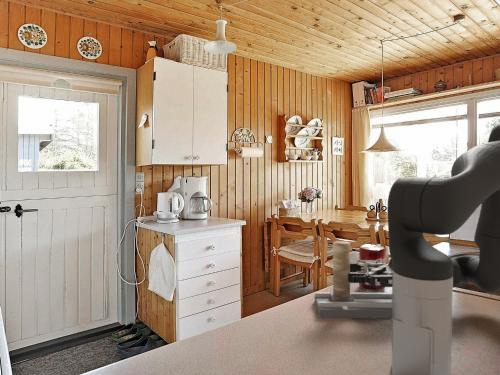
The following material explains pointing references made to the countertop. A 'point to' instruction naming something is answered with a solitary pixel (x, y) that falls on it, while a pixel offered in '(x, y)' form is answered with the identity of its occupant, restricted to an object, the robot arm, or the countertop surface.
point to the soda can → (372, 254)
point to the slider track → (355, 306)
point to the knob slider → (341, 272)
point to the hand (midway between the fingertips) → (344, 272)
